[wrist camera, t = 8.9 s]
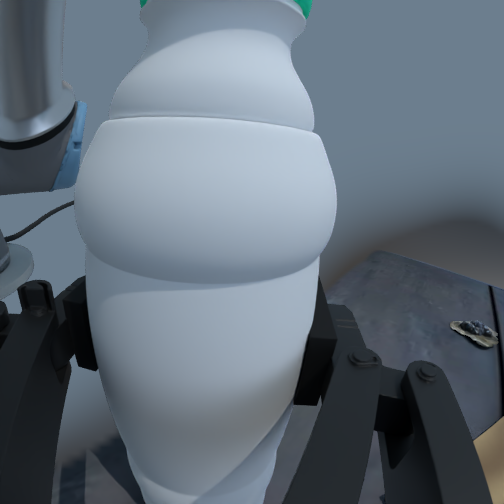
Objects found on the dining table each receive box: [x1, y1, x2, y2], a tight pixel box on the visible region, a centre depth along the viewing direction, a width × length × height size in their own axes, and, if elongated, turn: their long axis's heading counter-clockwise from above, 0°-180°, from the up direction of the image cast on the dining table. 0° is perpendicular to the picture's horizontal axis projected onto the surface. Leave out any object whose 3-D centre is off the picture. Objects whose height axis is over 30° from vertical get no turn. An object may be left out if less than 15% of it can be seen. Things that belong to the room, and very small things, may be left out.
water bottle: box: [74, 0, 337, 504], centre depth 10 cm, size 7×7×25 cm
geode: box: [450, 321, 498, 347], centre depth 33 cm, size 7×8×2 cm
